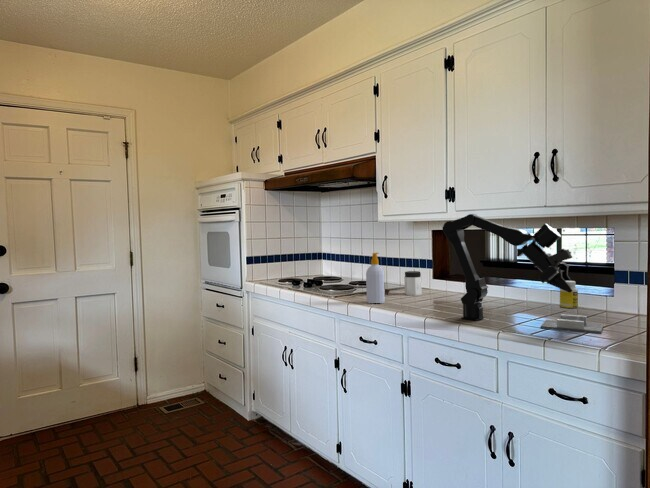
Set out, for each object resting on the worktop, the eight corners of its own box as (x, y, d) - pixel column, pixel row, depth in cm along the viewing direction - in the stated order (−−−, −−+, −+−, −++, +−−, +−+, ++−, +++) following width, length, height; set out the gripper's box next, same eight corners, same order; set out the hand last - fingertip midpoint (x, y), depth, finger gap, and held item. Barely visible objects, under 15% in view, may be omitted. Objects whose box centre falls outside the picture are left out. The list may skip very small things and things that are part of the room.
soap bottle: (387, 301, 226) (386, 252, 225) (381, 304, 217) (380, 253, 217) (370, 300, 230) (369, 252, 229) (364, 303, 221) (363, 253, 220)
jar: (412, 296, 240) (412, 273, 239) (401, 294, 246) (401, 272, 246) (424, 294, 245) (424, 271, 244) (413, 292, 251) (412, 270, 251)
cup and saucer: (394, 293, 252) (393, 282, 251) (380, 296, 243) (379, 284, 243) (376, 291, 260) (376, 280, 260) (362, 294, 252) (362, 283, 251)
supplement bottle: (575, 311, 155) (575, 282, 155) (557, 310, 159) (557, 281, 158) (579, 309, 159) (579, 280, 159) (562, 307, 163) (562, 279, 162)
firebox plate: (540, 328, 162) (540, 318, 161) (546, 321, 172) (546, 312, 171) (600, 333, 152) (600, 323, 151) (603, 326, 162) (603, 317, 161)
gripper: (549, 242, 153) (586, 277, 147) (562, 240, 168) (597, 272, 161) (524, 265, 158) (559, 300, 152) (539, 261, 173) (572, 293, 166)
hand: (573, 290), depth 158 cm, fingers closed on supplement bottle, 5 cm apart
